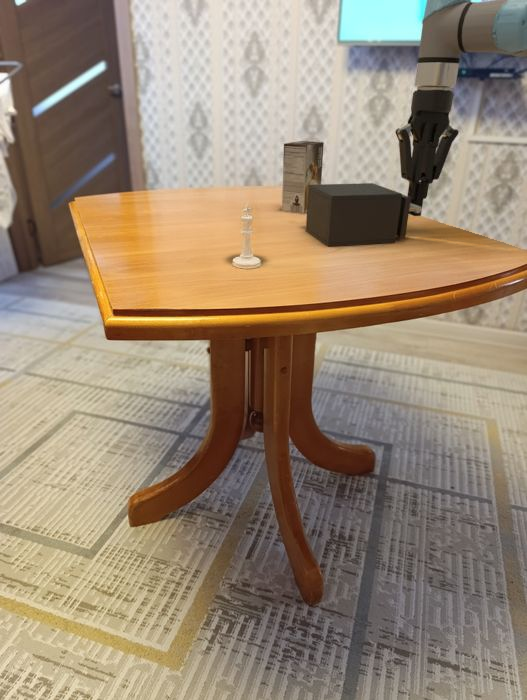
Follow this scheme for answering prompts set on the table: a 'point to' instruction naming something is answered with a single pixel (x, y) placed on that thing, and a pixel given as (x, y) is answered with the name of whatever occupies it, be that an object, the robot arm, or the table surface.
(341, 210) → the cabinet
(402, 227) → the drawer
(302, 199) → the coffee box
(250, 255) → the chess piece
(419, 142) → the robot arm
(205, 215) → the table surface
